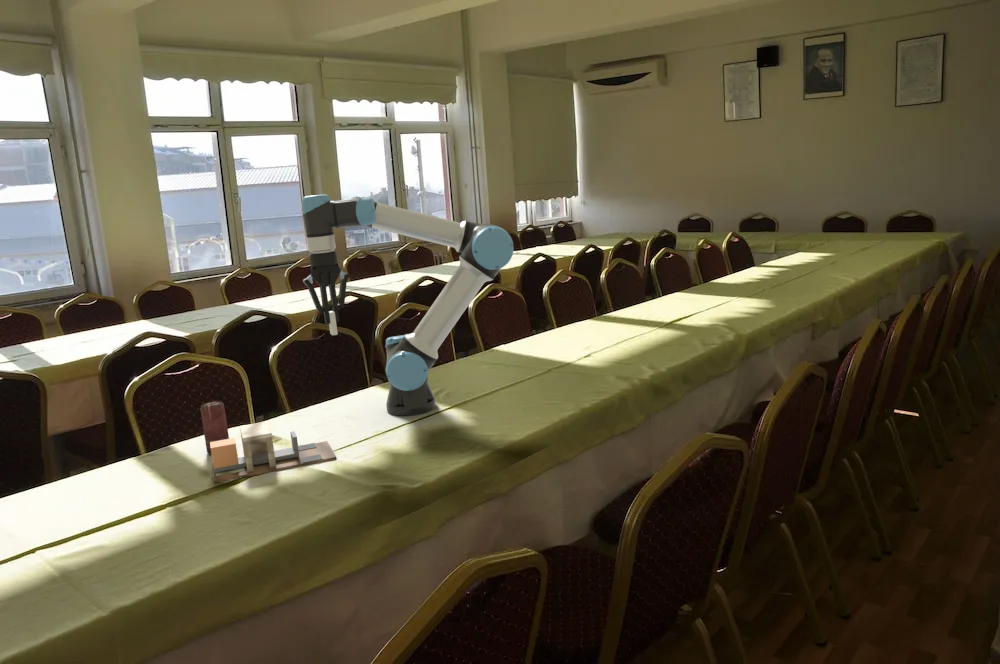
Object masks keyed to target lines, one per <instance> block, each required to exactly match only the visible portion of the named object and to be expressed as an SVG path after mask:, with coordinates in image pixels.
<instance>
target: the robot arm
mask: <svg viewBox="0 0 1000 664" xmlns="http://www.w3.org/2000/svg"><path fill="white" fill-rule="evenodd" d="M301 205H302V206H301V207H302V216H303V223H304V228H305V236H306V243H307V250H308V252H310V253H309V254H308V257H309V264H310V271H309V275H308V276H307V277H306V278H303V279H302V283H303V284H304V285H305V286H306V287H307V290H308V292H309V294H310V297H311V299H312V302H313V304H314V307H315V310H316V311H318V312H321V313H323V316H324V322H325V324H327V325H328V326H329V334H330V335H331V336H337V335H339V334H338V333H339V332H338V326H337V323H340V316H339V315H340V314H339V311H340V310H341V309H344V307H345V303H346V301H345V300H346V294H347V292H346V291H347V283H348V280H349V278H350V274H349V273H347V272H345V271H342V269H341V267H340V266H339V261H338V253H337V251H336V248H337V245H336V240H335V239H336V238H335V233H334V229H341V228H351V227H368V228H373V229H377V230H380V231H385V232H388V233H393V234H397V235H402V236H406V237H408V238H409V237H410V238H414V239H417V240H421V241H425V242H430V243H433V244H438V245H442V246H445V247H446V246H447V247H449V248H453V249H455V251H456V252H457V253H461V254H460V255H459V266H458V267H457V268H456V270H455V272H454V273H453V274H452V276H451V277H450V279H449V280H448V282H447V283H445V284H446V285H445V286H444V287H443V288H442V290H441V292H440V293H439V295H438V296H437V297H436V299H435V300H434V301H433V303H432V304H431V306H430V308H429V309H428V311H426V313H425V315H424V316H423V317H422V319H421V320H420V321H419V323H418V325H417V326H416V327H415V329H414V330H413V332H411V333H405V334H403V335H396V336H394V335H393V336H389V337H387V338H386V339H385V346H384V348H385V349H386V365H385V369H384V370H385V374H386V377H387V379H388V382H389V389H388V394H387V399H386V412H387V413H389V414H391V415H396V416H413V415H420V414H424V413H427V412H430V411H432V410H434V409H435V408H436V406H437V403H436V397H435V395H434V393H433V390H432V388H431V386H430V384H429V379H428V375H429V372H430V370H431V369H432V367H433V366H434V364H435V363H436V362H437V361H438V359H439V354H438V353H439V352H438V350H439V348H440V347H441V345H442V344H443V342H444V341H445V339H446V338H447V337H448V335H449V334H450V332H451V331H452V330H453V328H454V327H455V326H456V324H457V322H459V319H460V318H461V316H462V315H463V314H464V312H465V311H466V309H467V308H468V307H469V305H471V302H472V301H473V300H474V299H475V296H476V295H477V294H478V293H479V291H480V290H481V288H482V287H483V285H484V284H485V283H487V282H491V281H493V280H494V279H495V278H496V276H497V275H498V273H499V272H500V271H501V269H502V268H504V267H506V265H508V264H509V262H510V261H511V259H512V257H513V255H514V241H513V238H512V237H511V235H510V233H509V232H508V231H507V230H505V229H504V228H503V227H500V226H498V225H496V224H492V223H482V222H473V221H468V220H463V221H461V222H458V221H455V220H450V219H446V218H444V217H443V218H441V217H438V216H433V215H430V214H427V213H422V212H418V211H414V210H409V209H406V208H401V207H397V206H393V205H389V204H384V203H382V202H381V203H380V202H376V201H375V200H374V199H373V198H372V197H360V196H359V197H358V196H355V197H350V198H347V199H341V200H331V198H330V196H329V194H315V195H314V194H313V195H306V196H303V198H302V199H301ZM338 278H340V281H339V289H338V296H337V291H336V282H337V280H338ZM313 280H314V281H313ZM314 282H316V283H317V284H318V286H319V287H318V288H319V291H320V298H321V299H320V300H321V301H320V300H319V297H318V294H317V291H316V290H315V287H314V285H313V284H314ZM327 285H328V286H327ZM327 287H328V290H329V295H330V296H329V297H330V304H331V310H330V309H329V308H330V307H329V300H328V292H327Z"/></svg>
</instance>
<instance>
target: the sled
mask: <svg viewBox="0 0 1000 664" xmlns="http://www.w3.org/2000/svg"><path fill="white" fill-rule="evenodd" d="M290 439H291V447H288V448H282V449H277V450H274V454H275V461H278V460H283V459H288V458H294V457H299V450H298V446H299V442H298V436H297V434H296V431H295V430H291V431H290ZM210 448H211V454H212V455H211V459H212V463H213V465H212V468H213V467H214V473H216V472H221V471H226V470H231V469H237V468H242V467H247V465H246V458H245V457H244V456H240V457H238V451H237V450H238V449H237V444H236V438H235V437H231V438H229V439H225V440H220V441H214V442H210ZM252 462H253V465H257V464H262V463H268V462H269V458H268V452H266V453H261V454H255V455H252Z"/></svg>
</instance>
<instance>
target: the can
mask: <svg viewBox="0 0 1000 664" xmlns="http://www.w3.org/2000/svg"><path fill="white" fill-rule="evenodd" d="M199 410H200V415H201V420H202V421H201V422H202V428H203V434H204V441H205V447H206V453H207V454H208V455H211V456H212V454H211V448H210V442H214V441H220V440H225V439H230V436H229V429H228V424H227V423H228V422H227V415H226V410H225V404H224V403H223V401H222V400H210V401H206V402H203V403H201V405H200V409H199Z"/></svg>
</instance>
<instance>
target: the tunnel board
mask: <svg viewBox="0 0 1000 664" xmlns="http://www.w3.org/2000/svg"><path fill="white" fill-rule="evenodd" d="M239 429H240V438H241V442H242V443H241V445H242V450H243V451H242V452H243V457H245V458H246V465H247V467H242V468H237V469H231V470H226V471H221V472H216V473H214V467H213V462H212V472H213V481H214V483H215V482H218V483H221V481H223V482H227V480H228V481H232V480H231V479H233V480H237V479H236V478H238V479H241V478H240V477H243V478H246V477H252V476H259V475H263V474H267V473H272V472H278V471H282V470H283V471H284V470H288V469H292V468H298V467H303V466H308V465H314V464H318V463H323V462H328V461H333V460H337V456H336V453H335V452H334V450H333V449H332V447H331V445H330V443H329V442H328V441H327V440H325V441H319V442H313V443H307V444H301V445H298V450H299V457H294V458H288V459H283V460H278V461H275V454H274V451H275V448H274V441H273V440H274V439H273V434H272V430H271V427H270V425H269V422H268V421H266V420H265V421H261V422H255V423H251V424H243V425H240V426H239ZM266 452H268V458H269V462H268V463H262V464H257V465H253V462H252V455H255V454H261V453H266Z"/></svg>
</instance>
